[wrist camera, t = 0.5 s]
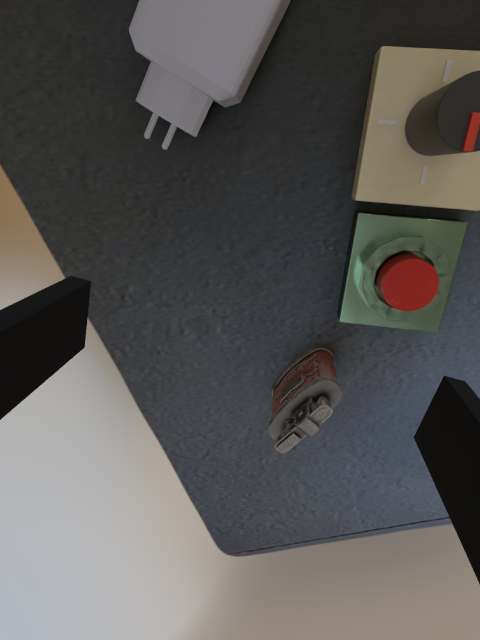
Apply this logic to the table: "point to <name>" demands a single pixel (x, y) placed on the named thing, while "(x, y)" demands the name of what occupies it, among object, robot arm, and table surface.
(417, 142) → the hob knob
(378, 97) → the hob panel
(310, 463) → the table surface
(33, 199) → the table surface
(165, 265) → the table surface
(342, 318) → the box
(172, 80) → the charger
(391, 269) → the button
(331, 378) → the lighter
